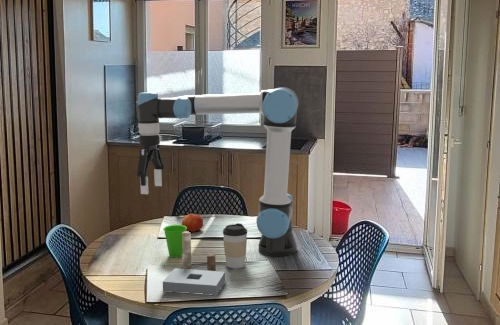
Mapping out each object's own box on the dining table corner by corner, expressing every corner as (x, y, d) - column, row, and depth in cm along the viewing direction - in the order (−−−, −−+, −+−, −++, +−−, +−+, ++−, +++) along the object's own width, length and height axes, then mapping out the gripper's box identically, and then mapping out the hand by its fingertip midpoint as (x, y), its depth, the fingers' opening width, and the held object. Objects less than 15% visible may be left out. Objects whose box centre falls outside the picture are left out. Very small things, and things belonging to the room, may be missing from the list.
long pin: (192, 268, 198) (191, 231, 195) (190, 271, 195) (189, 234, 192) (184, 268, 198) (183, 231, 196) (182, 271, 195) (181, 233, 193)
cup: (183, 260, 206) (182, 232, 204) (160, 258, 208) (159, 230, 206) (190, 252, 215) (190, 225, 213) (168, 250, 217) (168, 224, 215)
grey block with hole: (225, 281, 186) (225, 271, 185) (216, 295, 174) (216, 285, 173) (174, 277, 189) (174, 268, 188) (162, 291, 177) (162, 281, 177)
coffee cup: (238, 271, 195) (238, 230, 192) (218, 266, 200) (217, 227, 197) (252, 263, 203) (252, 224, 200) (232, 259, 207) (231, 221, 205)
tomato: (179, 233, 239) (179, 215, 238) (185, 227, 248) (185, 210, 247) (200, 234, 238) (199, 216, 236) (205, 228, 247) (204, 211, 245)
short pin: (216, 270, 196) (216, 254, 195) (214, 273, 193) (214, 257, 192) (208, 269, 196) (208, 253, 195) (206, 272, 194) (205, 256, 192)
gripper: (152, 130, 215) (154, 182, 219) (125, 138, 191) (128, 197, 195) (170, 130, 214) (172, 183, 217) (145, 138, 190) (148, 197, 193)
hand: (151, 189), depth 206 cm, fingers open, 13 cm apart
